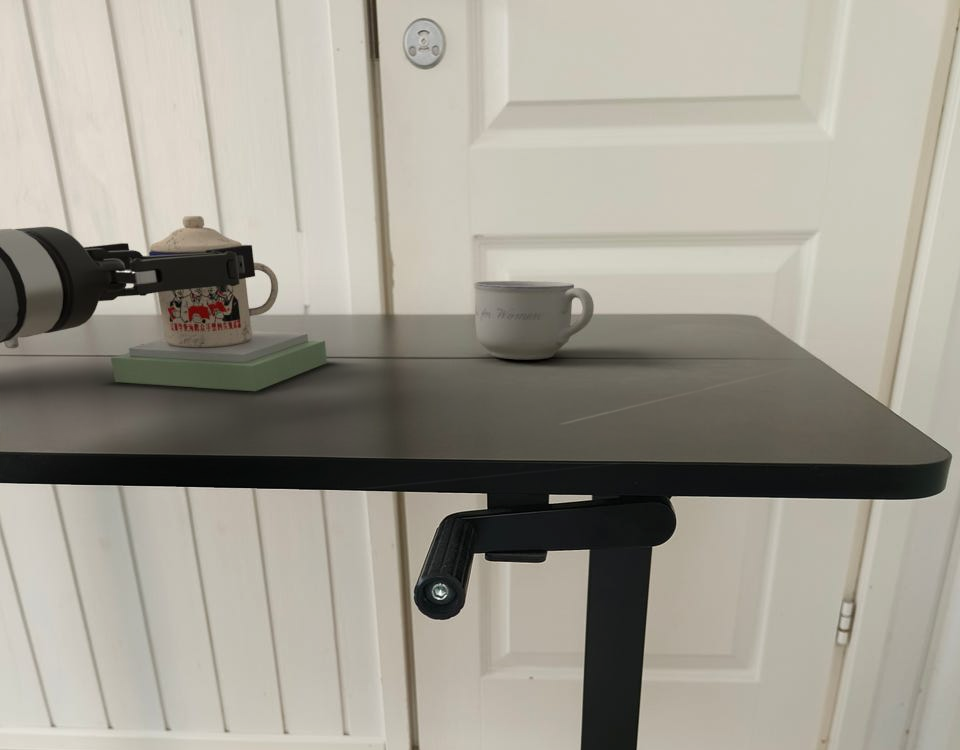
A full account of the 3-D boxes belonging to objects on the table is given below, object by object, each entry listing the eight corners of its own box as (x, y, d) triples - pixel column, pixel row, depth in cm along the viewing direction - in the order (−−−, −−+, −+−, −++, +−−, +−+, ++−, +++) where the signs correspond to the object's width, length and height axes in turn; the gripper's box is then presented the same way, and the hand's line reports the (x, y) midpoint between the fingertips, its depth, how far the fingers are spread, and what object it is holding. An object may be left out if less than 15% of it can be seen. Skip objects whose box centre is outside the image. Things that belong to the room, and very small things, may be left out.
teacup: (455, 356, 102) (453, 280, 99) (524, 345, 109) (525, 273, 105) (543, 374, 93) (545, 291, 89) (613, 361, 99) (618, 282, 96)
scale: (115, 382, 92) (109, 349, 90) (200, 356, 104) (196, 326, 103) (255, 391, 87) (251, 356, 86) (327, 363, 100) (324, 332, 98)
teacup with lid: (162, 350, 89) (140, 219, 83) (164, 336, 97) (145, 215, 91) (287, 344, 92) (274, 216, 86) (279, 331, 99) (267, 213, 94)
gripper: (-87, 328, 75) (87, 297, 93) (175, 341, 68) (308, 304, 86) (-115, 227, 71) (71, 215, 89) (158, 230, 64) (300, 217, 82)
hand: (187, 259), depth 87 cm, fingers open, 13 cm apart
